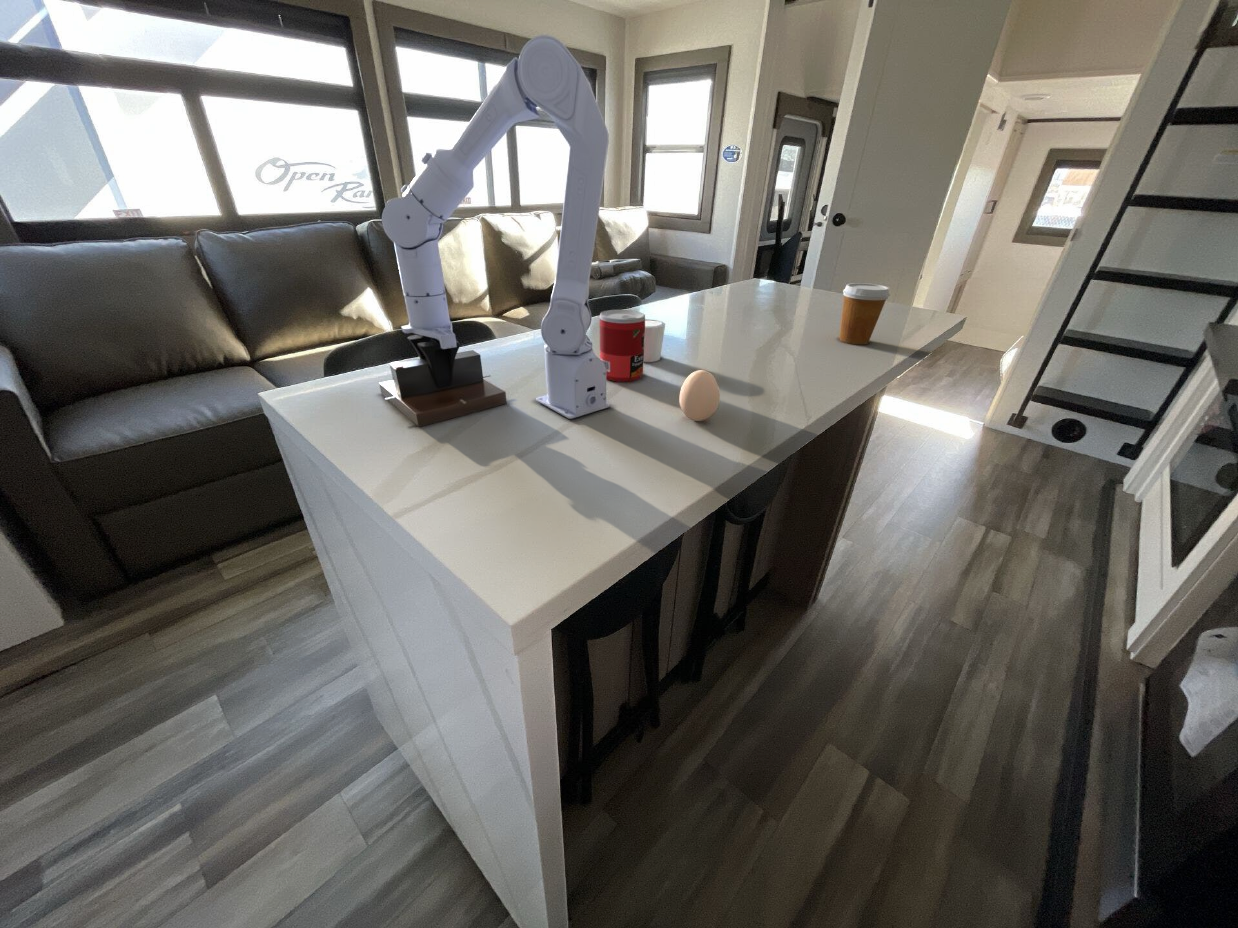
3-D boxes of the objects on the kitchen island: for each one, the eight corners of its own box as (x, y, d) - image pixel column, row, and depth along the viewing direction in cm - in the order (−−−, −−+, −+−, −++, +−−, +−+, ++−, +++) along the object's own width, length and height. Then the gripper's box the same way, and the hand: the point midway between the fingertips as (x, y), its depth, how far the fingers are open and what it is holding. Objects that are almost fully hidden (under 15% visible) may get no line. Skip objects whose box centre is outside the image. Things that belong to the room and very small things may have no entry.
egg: (722, 427, 71) (728, 376, 67) (683, 429, 70) (688, 378, 66) (709, 411, 76) (715, 363, 72) (673, 412, 75) (677, 364, 71)
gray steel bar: (476, 376, 82) (472, 348, 80) (483, 381, 80) (480, 353, 78) (395, 392, 75) (389, 362, 73) (401, 398, 73) (394, 367, 71)
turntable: (517, 402, 78) (516, 389, 77) (409, 431, 68) (405, 417, 67) (469, 374, 89) (467, 362, 88) (370, 395, 79) (366, 383, 78)
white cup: (669, 356, 100) (671, 322, 97) (652, 365, 95) (654, 329, 92) (640, 350, 103) (641, 317, 100) (622, 358, 98) (623, 323, 95)
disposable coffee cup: (836, 345, 110) (850, 289, 104) (828, 334, 118) (840, 282, 112) (881, 347, 108) (897, 291, 102) (869, 336, 116) (884, 283, 111)
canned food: (639, 384, 86) (641, 320, 80) (595, 380, 87) (594, 317, 82) (645, 370, 92) (648, 310, 87) (604, 367, 94) (604, 308, 88)
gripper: (382, 288, 73) (400, 374, 80) (412, 305, 63) (430, 402, 70) (429, 283, 77) (443, 367, 84) (464, 299, 67) (477, 392, 74)
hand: (440, 382), depth 77 cm, fingers closed on gray steel bar, 3 cm apart
